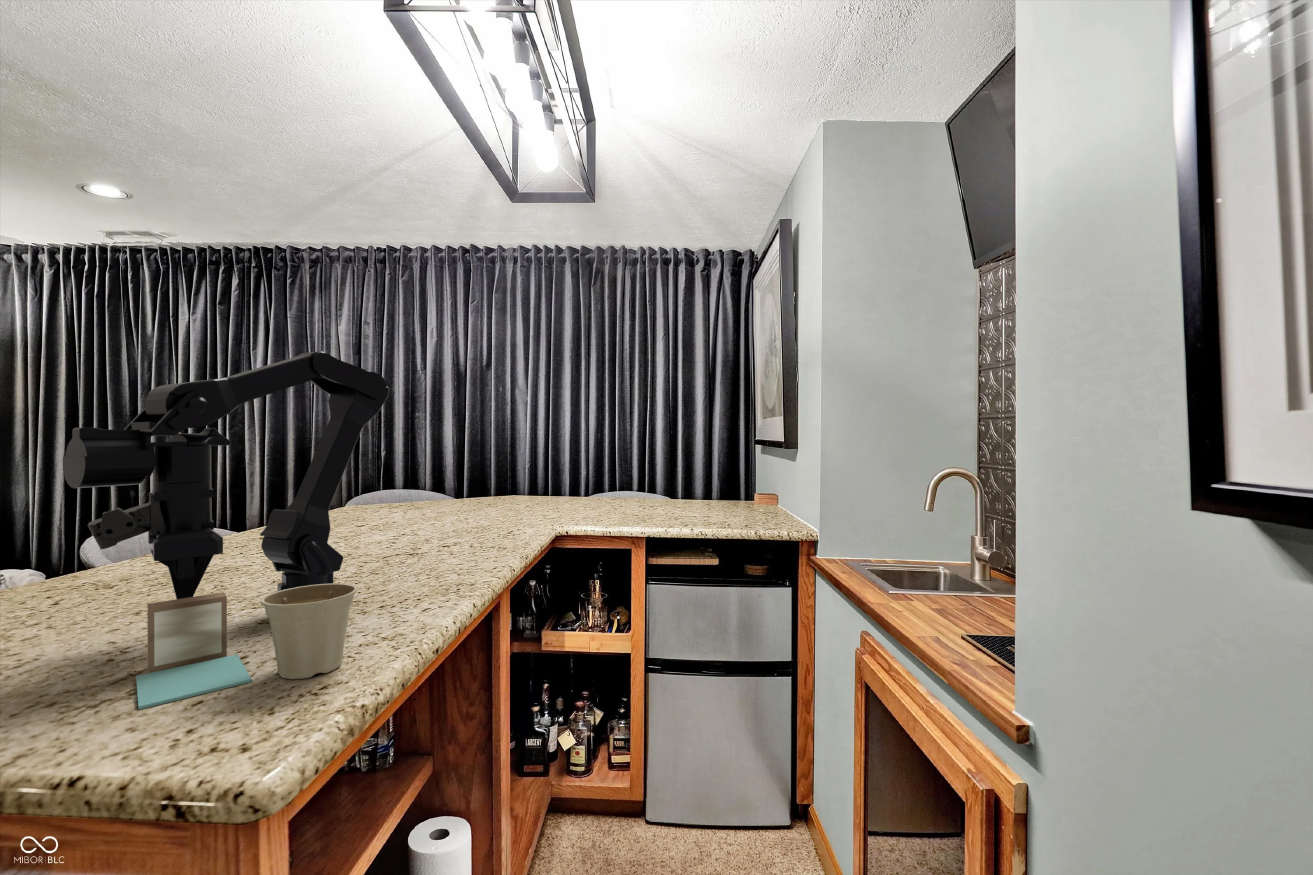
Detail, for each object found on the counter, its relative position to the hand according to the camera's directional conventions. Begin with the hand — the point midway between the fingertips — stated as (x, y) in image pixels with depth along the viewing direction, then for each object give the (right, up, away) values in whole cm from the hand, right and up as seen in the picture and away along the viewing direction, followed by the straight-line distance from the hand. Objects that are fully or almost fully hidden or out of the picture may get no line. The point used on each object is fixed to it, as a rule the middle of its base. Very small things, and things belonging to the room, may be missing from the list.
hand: (183, 604), depth 72 cm
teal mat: (+10, -5, -10) cm, 15 cm away
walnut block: (+5, -5, -6) cm, 9 cm away
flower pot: (+21, -5, -7) cm, 23 cm away
